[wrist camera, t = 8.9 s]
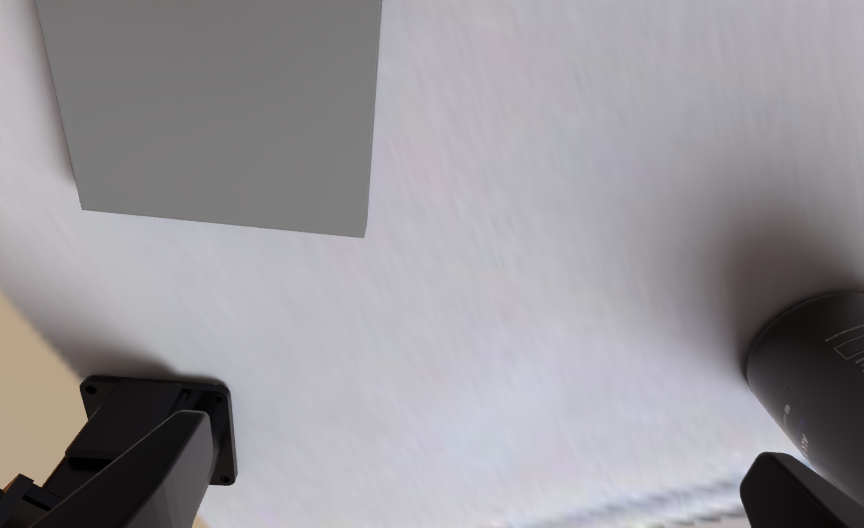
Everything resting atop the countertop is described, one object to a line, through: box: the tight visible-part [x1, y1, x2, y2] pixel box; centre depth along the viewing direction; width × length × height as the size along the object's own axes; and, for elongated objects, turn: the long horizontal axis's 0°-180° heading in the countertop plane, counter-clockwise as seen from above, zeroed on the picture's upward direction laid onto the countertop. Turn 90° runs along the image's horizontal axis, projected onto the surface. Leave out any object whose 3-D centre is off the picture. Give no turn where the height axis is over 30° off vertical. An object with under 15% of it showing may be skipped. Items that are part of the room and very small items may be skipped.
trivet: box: [35, 0, 382, 238], centre depth 16 cm, size 12×10×1 cm
